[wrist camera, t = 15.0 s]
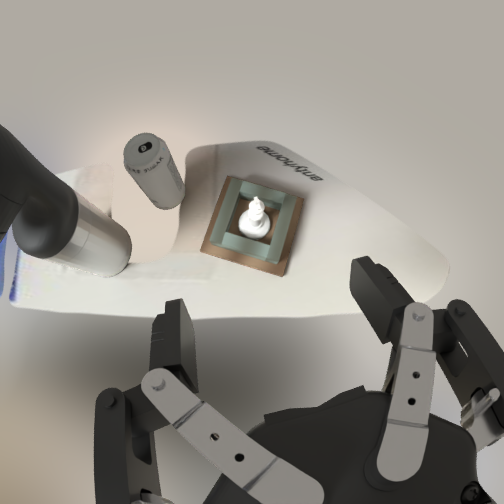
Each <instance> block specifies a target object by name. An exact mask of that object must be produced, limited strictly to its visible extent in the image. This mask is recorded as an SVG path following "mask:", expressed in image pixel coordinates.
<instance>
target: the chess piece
mask: <svg viewBox="0 0 504 504" xmlns="http://www.w3.org/2000/svg"><path fill="white" fill-rule="evenodd" d="M264 208H265V206H264V203H263V202H262V201H261V200H259V199H258V197H257V196H256V197H254V200H253V201H251V202H250V204H249V210H247V211H245V212H244V213H243V214H242V215H241V216H240V218H239V222H238V227H239V231H240V232H241V234H242V235H243V236H244V237H246V238H247V239H251V240H259V239H262V238H263V237H265V236H266V235H267V234H268V232H269V230H270V219H269V217H268V215H267V214H266V213H265V212H264Z"/></svg>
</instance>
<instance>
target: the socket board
mask: <svg viewBox="0 0 504 504" xmlns="http://www.w3.org/2000/svg"><path fill="white" fill-rule="evenodd" d="M256 196H257V197H258V199H259V200H261V201H262V202H263V203H264V206H265V208H264V212H265V213H266V214H267V215H268V217H269V219H270V230H269V232H268V234H267V235H266V236H265V237H263V238H262V239H259V240H251V239H247V238H246V237H244V236H243V235H242V234H241V232H240V231H239V227H238V222H239V218H240V216H241V215H242V214H243V213H244V212H245V211H247V210H249V204H250V202H251V201H253V200H254V197H256ZM303 201H304V199H303V198H300V197H297V196H294V195H291V194H288V193H284V192H281V191H278V190H275V189H271V188H268V187H265V186H261V185H258V184H254V183H251V182H247V181H244V180H240V179H237V178H233V177H229V176H227V178H226V180H225V183H224V186H223V188H222V191H221V194H220V196H219V199H218V202H217V204H216V207H215V210H214V213H213V215H212V218H211V221H210V224H209V226H208V229H207V232H206V235H205V238H204V241H203V244H202V246H201V249H200V251H201V252H203V253H206V254H209V255H212V256H215V257H219V258H222V259H225V260H228V261H231V262H235V263H238V264H241V265H244V266H248V267H251V268H254V269H257V270H261V271H264V272H267V273H270V274H274V275H277V276H280V277H282V276H283V274H284V270H285V267H286V263H287V260H288V256H289V253H290V249H291V245H292V242H293V238H294V235H295V231H296V227H297V224H298V220H299V216H300V213H301V209H302V205H303Z"/></svg>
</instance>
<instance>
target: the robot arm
mask: <svg viewBox="0 0 504 504" xmlns="http://www.w3.org/2000/svg"><path fill="white" fill-rule="evenodd" d="M11 224H12V230H13V236H14V239H15V241H16V243H17V245H18V247H19V248H20V249H21V250H22V251H23V252H25V253H26V254H28V255H31V256H34V257H37V258H41V259H44V260H47V261H50V262H53V263H57V264H60V265H64V266H67V267H70V268H74V269H77V270H80V271H84V272H87V273H90V274H94V275H98V276H101V277H111V276H114V275H116V274H118V273H120V272H121V271H122V270H123V269H124V268H125V266H126V265H127V264H128V261H129V259H130V256H131V251H132V244H131V239H130V236H129V234H128V232H127V231H126V230H125V229H124V228H123V227H122V226H121V225H119V224H118V223H116V222H115V221H114V220H113V219H111V218H110V217H109V216H107V215H106V214H105V213H103V212H102V211H101V210H99V209H98V208H97V207H96V206H94V205H93V204H92V203H90V202H89V201H88V200H86V199H85V198H84V197H83V196H81V195H80V194H79V193H77V192H76V191H75V190H73V189H72V188H71V187H70V186H68V185H67V184H66V183H64V182H63V181H62V180H60V179H59V178H58V177H56V176H55V175H54V174H53V173H51V172H50V171H49V170H48V169H47V168H45V167H44V166H43V165H42V164H41V163H40V162H39V161H38V160H37V159H36V158H35V157H34V156H33V155H32V154H31V153H30V152H29V151H28V150H27V149H26V148H25V147H24V146H23V145H22V144H21V143H20V142H19V141H18V140H17V139H16V138H15V137H14V136H13V135H12V134H11V133H10V132H9V131H8V130H7V129H6V128H4V127H3V126H1V125H0V243H1V241H2V240H3V238H4V236H5V234H6V233H7V231H8V229H9V227H10V225H11ZM350 291H351V294H352V296H353V298H354V299H355V301H356V302H357V304H358V305H359V307H360V308H361V310H362V312H363V313H364V315H365V316H366V318H367V320H368V321H369V323H370V324H371V326H372V328H373V329H374V331H375V332H376V334H377V336H378V338H379V339H380V341H381V343H382V344H385V343H388V342H390V341H391V343H392V345H393V346H392V349H391V355H390V359H389V365H388V369H387V374H386V379H385V382H384V385H383V388H382V391H366V390H365V388H364V386H363V385H362V386H359V387H356V388H354V389H351V390H348V391H345V392H342V393H340V394H338V395H337V396H335V397H333V398H332V399H330V400H329V401H327V402H325V403H323V404H322V405H320V406H318V407H312V408H293V409H286V410H282V411H278V412H274V413H269V414H265V415H264V419H265V421H263V422H262V423H259V424H258V425H256V426H255V427H254V428H252V429H251V430H250V431H249V432H248V433H247V434H244V433H243V432H242V431H241V430H239V429H238V428H237V427H235V426H234V425H233V424H232V423H230V422H229V421H228V420H227V419H225V418H224V417H223V416H222V415H221V414H219V413H218V412H217V411H216V410H215V409H213V408H212V407H211V406H210V405H209V404H207V403H206V402H204V401H203V402H202V401H201V400H200V399H199V398H197V397H196V396H195V395H194V393H198V392H199V390H198V379H197V365H196V351H195V336H194V328H193V324H192V321H191V318H190V316H189V313H188V311H187V309H186V306H185V304H184V301H183V299H182V298H181V299H176V300H171V301H166V303H165V313H164V314H159V315H157V317H156V318H155V320H154V322H153V324H152V337H151V351H150V367H149V372H148V373H147V374H146V375H145V376H144V378H143V380H142V383H141V384H140V385H138V386H136V387H134V388H132V389H129V390H127V391H125V392H121V391H120V390H119V389H117V388H108V389H105V390H104V391H102V392H101V393H100V394H99V396H98V397H97V400H96V406H95V423H94V481H95V498H96V504H174V503H173V502H172V501H170V500H169V499H166V498H163V497H162V495H161V489H160V483H159V475H158V467H157V460H156V451H155V440H154V431H155V430H157V429H160V428H162V427H164V426H167V425H169V424H172V425H173V426H174V428H175V429H176V430H177V431H178V432H179V433H180V434H181V435H182V436H183V437H184V438H185V439H186V440H187V441H188V442H189V443H190V444H191V445H192V446H194V447H195V448H196V449H197V450H198V451H199V452H200V453H201V454H202V455H203V456H204V457H205V458H207V460H209V461H210V462H211V463H212V464H213V465H214V466H216V467H217V468H218V469H219V470H220V471H221V472H222V474H221V476H220V477H219V479H218V480H217V482H216V484H215V485H214V487H213V488H212V490H211V492H210V493H209V495H208V496H207V498H206V500H205V501H204V502H203V504H496V502H495V501H494V500H493V499H492V498H491V497H490V496H489V495H488V494H487V493H486V492H485V491H484V490H483V488H482V487H481V486H480V484H479V482H478V478H477V470H476V457H477V452H478V451H480V450H482V449H483V448H484V447H486V446H490V445H492V444H493V443H495V442H496V441H498V440H499V439H501V438H502V437H503V436H504V352H503V350H502V349H501V348H500V346H499V345H498V343H497V342H496V340H495V339H494V337H493V336H492V334H491V333H490V332H489V330H488V329H487V327H486V326H485V325H484V323H483V322H482V321H481V319H480V318H479V317H478V315H477V314H476V313H475V311H474V310H473V309H472V308H471V306H470V305H469V304H468V303H466V302H465V301H463V300H458V299H456V300H452V301H451V302H450V303H449V304H448V306H447V309H438V310H431V309H430V308H429V307H428V306H427V305H425V304H423V303H419V302H415V301H414V300H413V299H412V297H411V296H410V295H409V294H408V293H407V291H406V290H405V289H404V288H403V286H402V285H401V284H400V283H398V280H397V279H396V278H395V277H394V276H393V274H392V273H391V272H390V271H389V270H388V269H387V268H386V267H384V266H382V265H381V264H375V263H374V262H373V261H372V260H371V259H370V257H368V256H364V257H360V258H356V259H353V260H352V263H351V274H350ZM459 342H460V343H461V345H462V346H463V348H464V349H465V351H466V353H467V355H468V357H467V355H466V354H465V352H464V351H463V349H462V348H461V346H460V344H459ZM436 360H437V362H438V364H439V365H440V367H441V369H442V371H443V372H444V374H445V376H446V378H447V380H448V381H449V383H450V385H451V387H452V389H453V391H454V393H455V395H456V396H457V398H458V400H459V402H460V404H461V406H462V411H461V421H460V424H461V426H462V427H461V426H458V425H456V424H454V423H452V422H449V421H447V420H445V419H442V418H440V417H438V416H436V415H433V414H431V413H429V412H430V405H431V399H432V391H433V383H434V374H435V362H436Z"/></svg>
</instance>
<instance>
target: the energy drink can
mask: <svg viewBox="0 0 504 504" xmlns="http://www.w3.org/2000/svg"><path fill="white" fill-rule="evenodd" d="M124 166H125V168H126V170H127V171H128V173H129V174H130V175H131V176H132V178H133V179H134V180H135V181H136V183H137V184H138V185H139V187H140V188H141V189H142V190H143V192H144V193H145V194H146V196H147V197H148V198H149V199H150V200H151V202H152V203H153V204H154V205H155V206H156V207H157V208H159V209H163V210H168V209H172V208H174V207H176V206H177V205H179V204H180V203H181V201H182V200H183V198H184V196H185V186H184V183H183V181H182V179H181V176H180V174H179V172H178V170H177V168H176V165H175V163H174V161H173V158H172V156H171V154H170V151H169V149H168V147H167V145H166V143H165V142H164V141H163V140H162V139H161V138H159V137H157V136H155V135H154V134H151V133H142V134H138V135H136V136H134V137H133V138H132V139H130V141H129V142H128V143H127V144H126V146H125V148H124Z"/></svg>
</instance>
